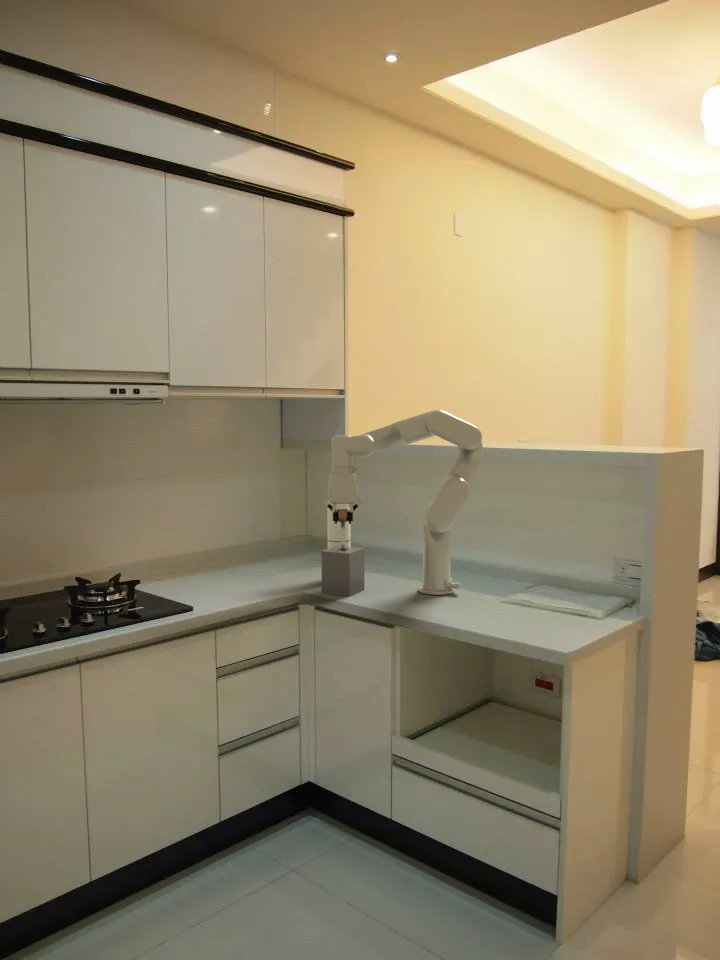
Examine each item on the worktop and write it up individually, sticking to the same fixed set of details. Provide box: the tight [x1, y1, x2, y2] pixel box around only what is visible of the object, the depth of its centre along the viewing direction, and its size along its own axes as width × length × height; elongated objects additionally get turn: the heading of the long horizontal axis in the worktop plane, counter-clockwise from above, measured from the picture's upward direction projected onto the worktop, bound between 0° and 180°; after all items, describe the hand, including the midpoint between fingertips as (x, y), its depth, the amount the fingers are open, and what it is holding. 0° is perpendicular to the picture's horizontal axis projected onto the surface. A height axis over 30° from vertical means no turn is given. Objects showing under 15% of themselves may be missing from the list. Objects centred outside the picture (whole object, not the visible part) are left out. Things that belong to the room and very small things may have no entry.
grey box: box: [320, 546, 365, 598], centre depth 266 cm, size 11×11×15 cm
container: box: [326, 501, 352, 549], centre depth 283 cm, size 9×9×30 cm
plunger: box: [337, 509, 349, 551], centre depth 265 cm, size 8×8×20 cm
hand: (342, 522), depth 265 cm, fingers closed on plunger, 4 cm apart
